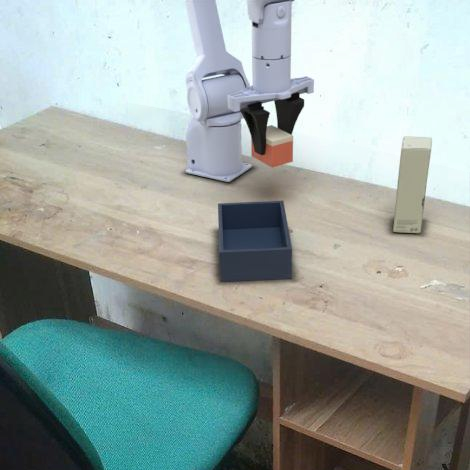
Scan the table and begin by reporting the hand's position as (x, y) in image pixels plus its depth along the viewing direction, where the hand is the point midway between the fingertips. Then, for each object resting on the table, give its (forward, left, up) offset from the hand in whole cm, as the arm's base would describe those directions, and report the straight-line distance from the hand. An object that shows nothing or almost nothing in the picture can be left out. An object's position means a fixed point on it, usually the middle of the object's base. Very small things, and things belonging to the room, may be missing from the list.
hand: (271, 149), depth 126 cm
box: (+23, +3, -9) cm, 25 cm away
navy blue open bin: (+7, -17, -9) cm, 20 cm away
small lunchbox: (0, 0, -1) cm, 1 cm away
